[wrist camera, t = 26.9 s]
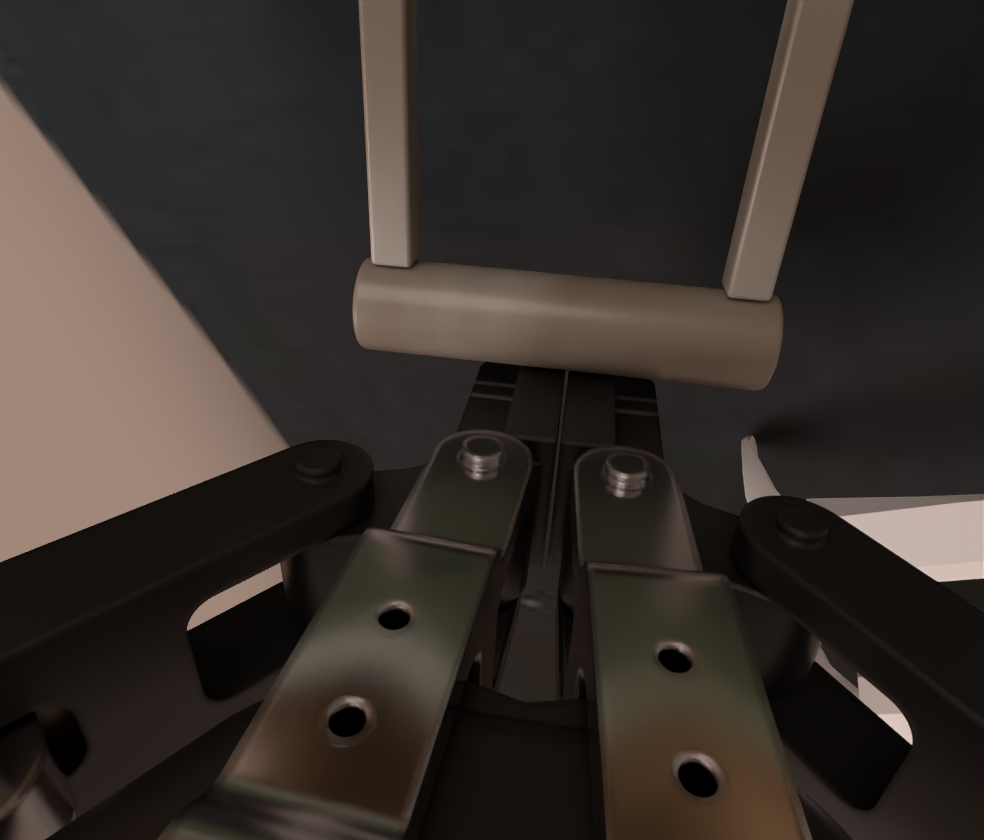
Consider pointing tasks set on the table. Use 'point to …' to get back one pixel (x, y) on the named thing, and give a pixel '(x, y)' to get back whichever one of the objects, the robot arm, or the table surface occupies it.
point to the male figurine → (897, 548)
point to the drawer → (582, 299)
